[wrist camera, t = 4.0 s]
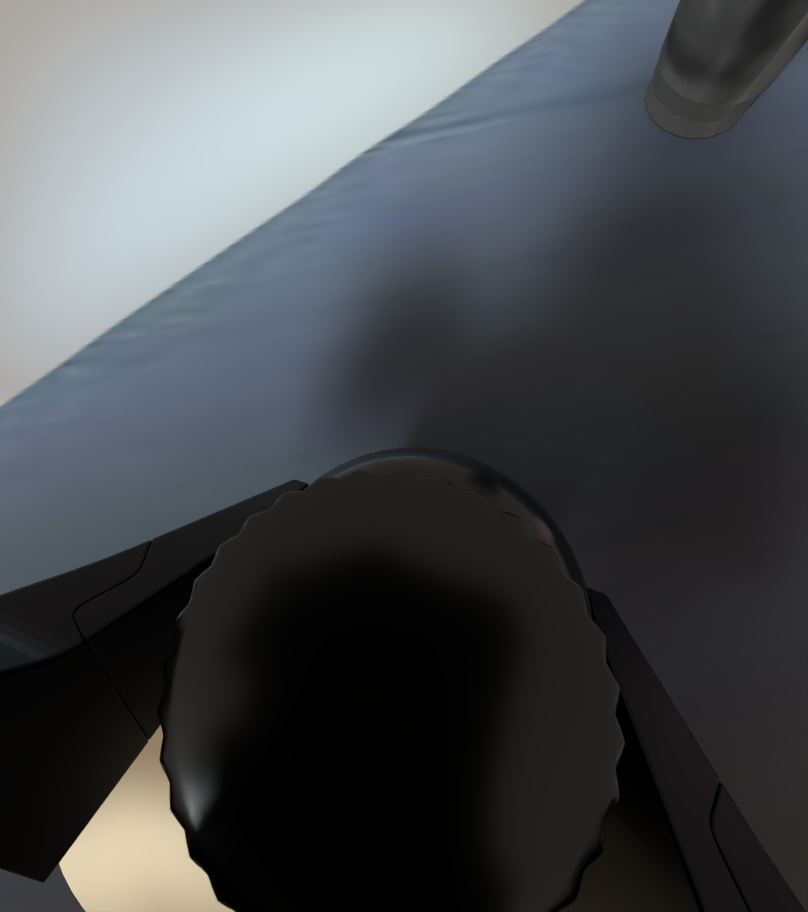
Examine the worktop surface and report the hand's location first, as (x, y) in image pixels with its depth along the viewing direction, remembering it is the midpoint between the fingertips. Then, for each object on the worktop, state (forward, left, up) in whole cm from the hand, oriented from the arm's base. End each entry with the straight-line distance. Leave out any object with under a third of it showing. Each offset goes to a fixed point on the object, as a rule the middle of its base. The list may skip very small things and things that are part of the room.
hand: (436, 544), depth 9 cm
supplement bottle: (-1, +1, -7) cm, 7 cm away
